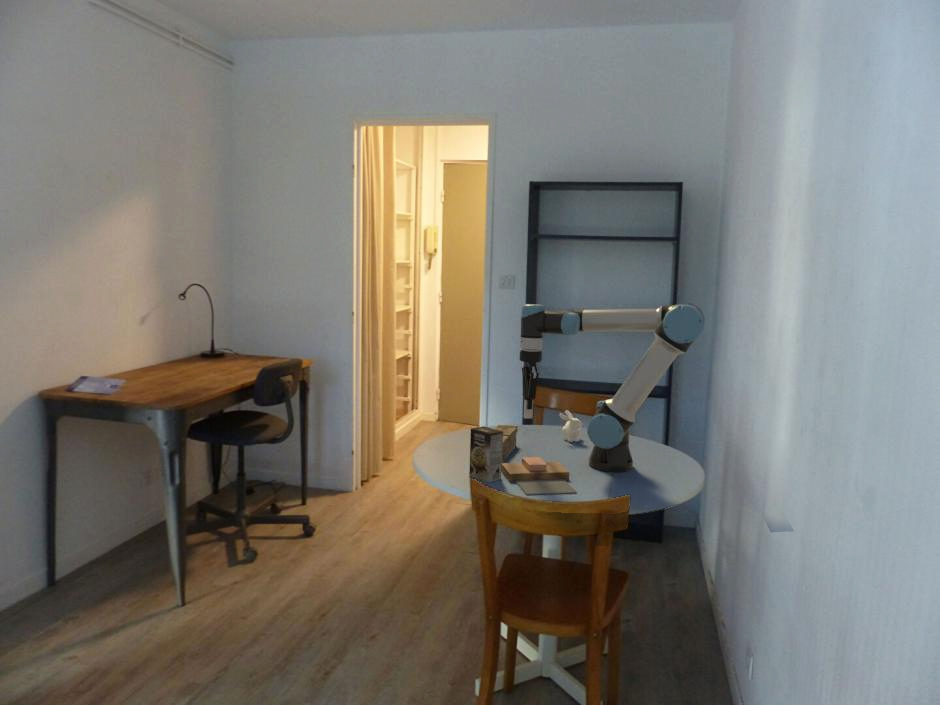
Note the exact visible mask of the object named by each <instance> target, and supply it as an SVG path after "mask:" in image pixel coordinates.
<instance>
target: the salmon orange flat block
mask: <svg viewBox="0 0 940 705" xmlns="http://www.w3.org/2000/svg"><path fill="white" fill-rule="evenodd" d="M545 462H546V461H544V460H543V459H542V458H541V457H540V456H532V457H531V456H529V457H527V456H526V457H525V456H524V457H523V456H522V457H521V463H522V464H523V465H524V466H525V467H526V468H527V469H528V471H545V470H547V464H546V463H545Z"/></svg>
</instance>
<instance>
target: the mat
mask: <svg viewBox="0 0 940 705" xmlns="http://www.w3.org/2000/svg"><path fill="white" fill-rule="evenodd" d="M515 482H516V484H517V485H518V486H519V488H520V487H521V488H520V489H521V490H522V491H523V493H524V492H525V493H524V494H525V495H526V496H538V494H545V495H565V494H566V495H567V494H568V495H572V494H578V492H577V491H576V490H575V489H574V488H573V487H572V486H571V485H570V484H569V483H568V482H567V480H564V479H556V480H524V481H515Z"/></svg>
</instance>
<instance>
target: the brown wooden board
mask: <svg viewBox="0 0 940 705" xmlns="http://www.w3.org/2000/svg"><path fill="white" fill-rule="evenodd" d="M544 462H545V463H546V464H547V470H545V471H528V469H527V468H526V467H525V466H524V465H523V464H522V462H506V463H505V462H502V464H501V473H502V474H503V476H504V477H505V478H506V479H507V480H508V482H510V483H511V482H513V483H515V482H516V481H524V480H556V479H564V480H565V481H569V480H570V471H569V470H568V469H567V468H566V467H564V466H563V465H562V464H561V463H560V462H559V461H544Z"/></svg>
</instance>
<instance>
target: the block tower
mask: <svg viewBox="0 0 940 705" xmlns="http://www.w3.org/2000/svg"><path fill="white" fill-rule="evenodd" d="M494 429H496V430H499V431H503V443H502V463H504V461H505V460H506V459H507V458H508V457H509V456H510V454H512V452H513V451H514V450H515V448H516V447H517V433H518V432H519V431H518V425H511V424H509V425H508V424H498V425H497V426H496V427H495V428H494Z"/></svg>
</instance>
